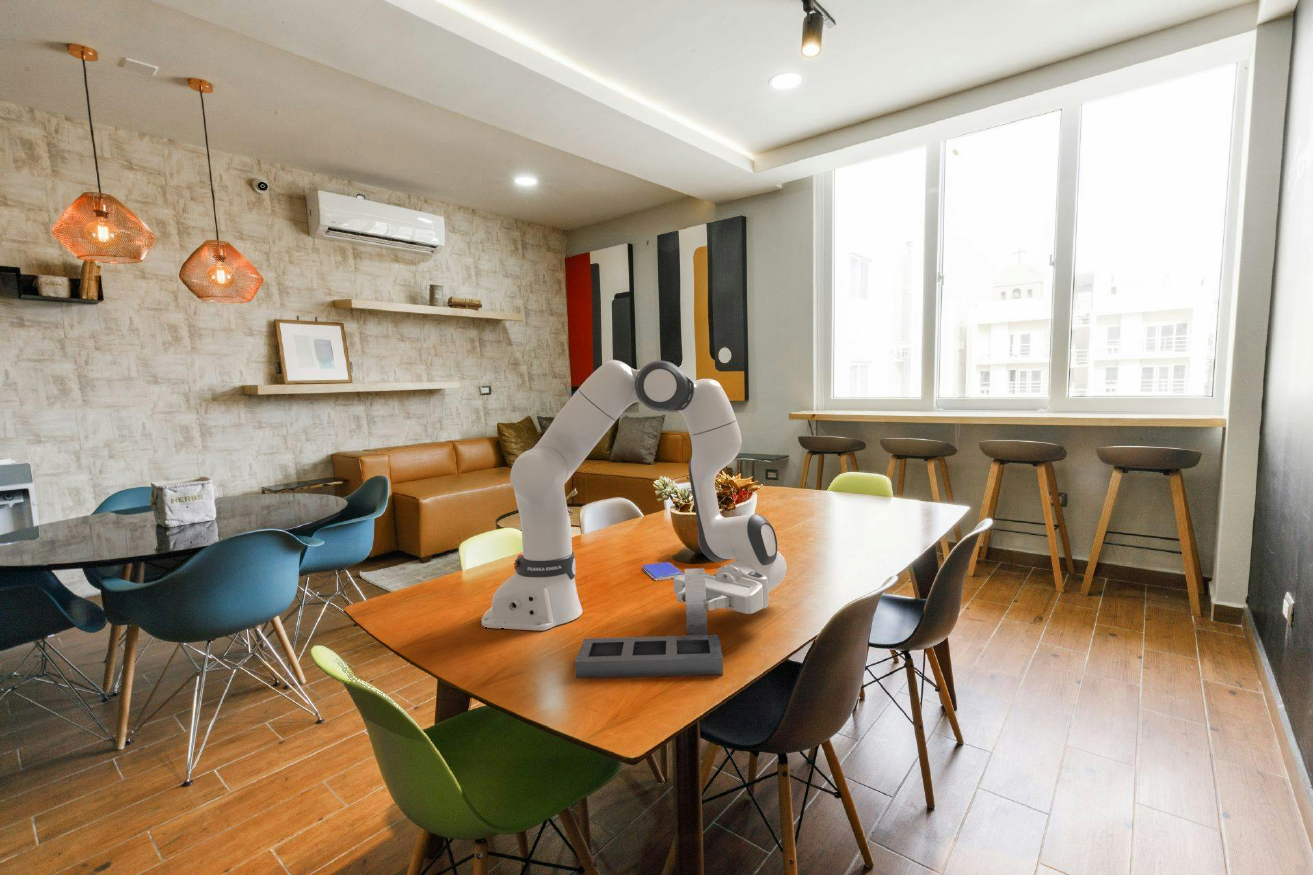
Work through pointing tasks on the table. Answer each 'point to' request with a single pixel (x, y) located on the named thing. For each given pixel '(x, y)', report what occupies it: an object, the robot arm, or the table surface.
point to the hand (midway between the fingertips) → (692, 602)
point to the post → (695, 602)
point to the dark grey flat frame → (649, 656)
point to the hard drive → (662, 571)
